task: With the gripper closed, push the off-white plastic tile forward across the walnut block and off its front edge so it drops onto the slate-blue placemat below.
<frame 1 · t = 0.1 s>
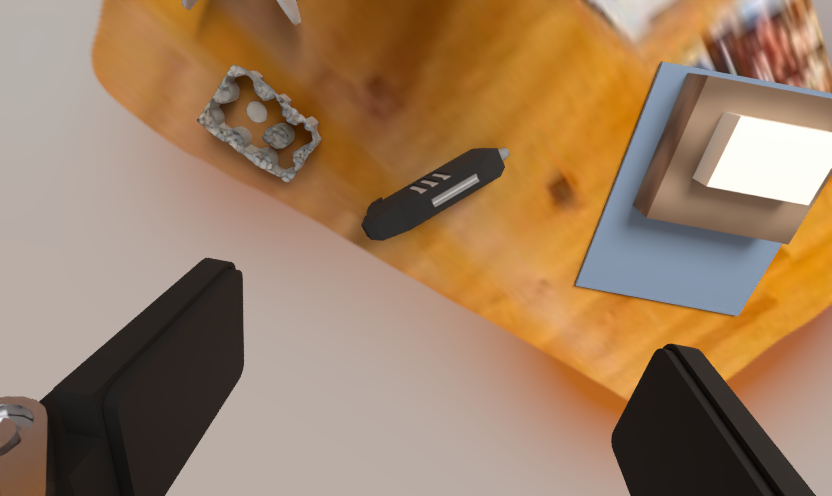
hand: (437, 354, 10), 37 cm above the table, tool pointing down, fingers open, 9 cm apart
placemat: (702, 202, 45), on the table
grey castle ruin model: (273, 120, 45), on the table
gun: (437, 177, 46), on the table
tile: (757, 155, 38), point 4 cm above the table, touching block
block: (728, 156, 42), resting on placemat
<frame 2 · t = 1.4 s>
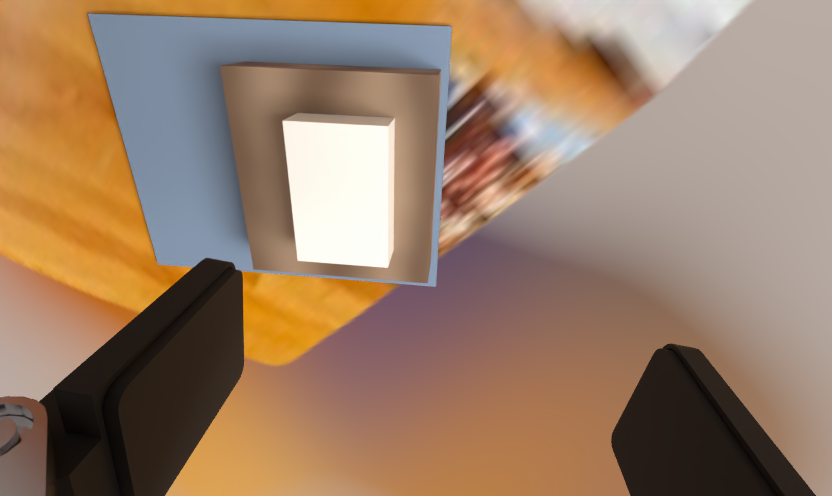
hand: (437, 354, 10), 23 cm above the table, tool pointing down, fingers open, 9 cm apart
placemat: (282, 163, 32), on the table
tile: (348, 185, 28), point 4 cm above the table, touching block
block: (347, 169, 31), resting on placemat
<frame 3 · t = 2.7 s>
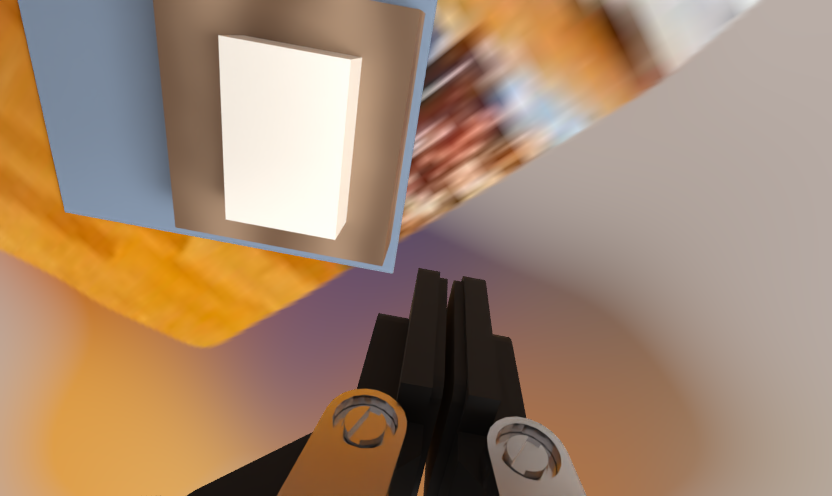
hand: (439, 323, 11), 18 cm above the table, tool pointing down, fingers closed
placemat: (226, 105, 27), on the table
tile: (299, 136, 23), point 4 cm above the table, touching block
block: (302, 121, 27), resting on placemat
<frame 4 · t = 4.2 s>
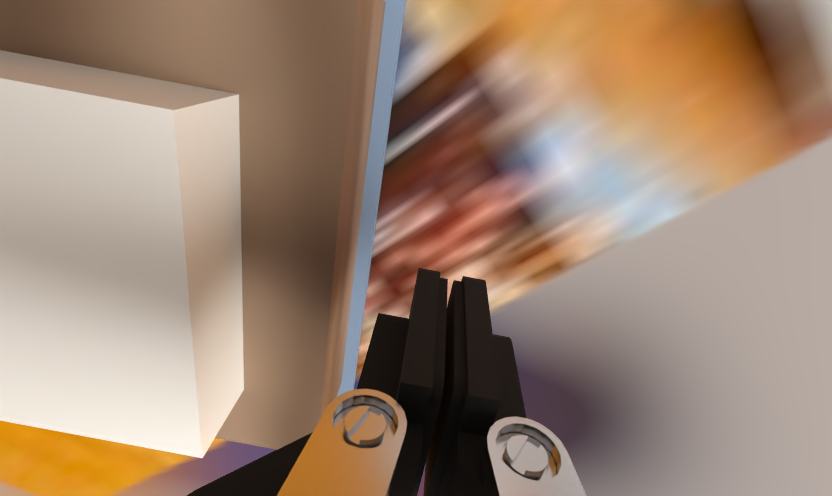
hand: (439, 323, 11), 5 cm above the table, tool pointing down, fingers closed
placemat: (43, 167, 15), on the table
tile: (133, 246, 12), point 4 cm above the table, touching block
block: (174, 197, 15), resting on placemat
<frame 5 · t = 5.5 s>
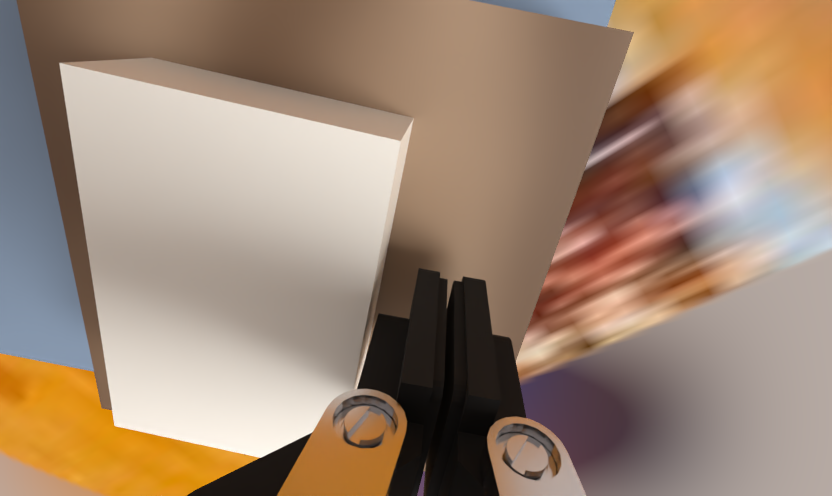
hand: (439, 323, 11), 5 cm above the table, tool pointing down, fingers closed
placemat: (196, 188, 15), on the table
tile: (272, 260, 12), point 4 cm above the table, touching block, gripper
block: (331, 220, 15), resting on placemat
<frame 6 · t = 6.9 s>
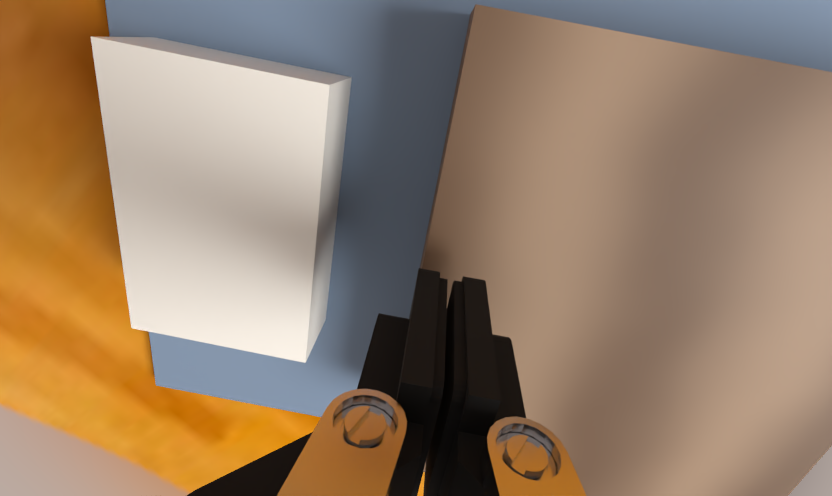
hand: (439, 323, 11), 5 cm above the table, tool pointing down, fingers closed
placemat: (467, 243, 15), on the table
tile: (215, 225, 13), point 3 cm above the table, tilted 180°, touching placemat
block: (608, 274, 15), resting on placemat
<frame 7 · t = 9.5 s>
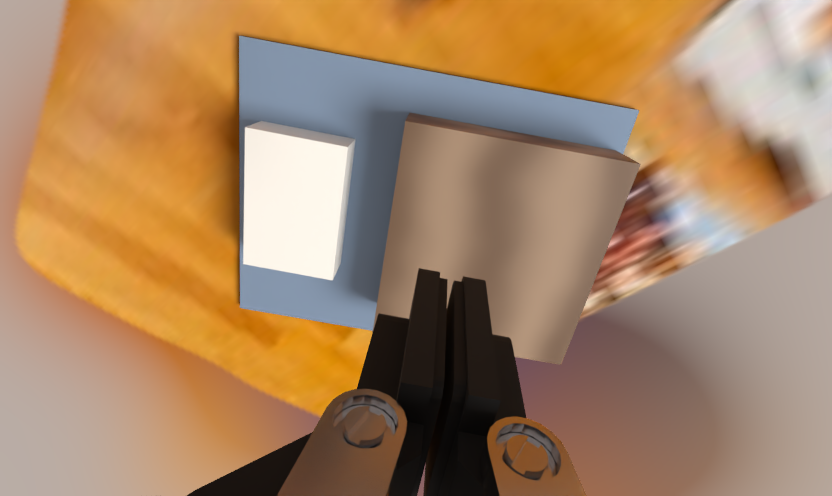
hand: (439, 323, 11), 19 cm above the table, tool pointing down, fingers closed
placemat: (414, 219, 30), on the table
tile: (292, 209, 27), point 3 cm above the table, tilted 180°, touching placemat
block: (486, 234, 29), resting on placemat
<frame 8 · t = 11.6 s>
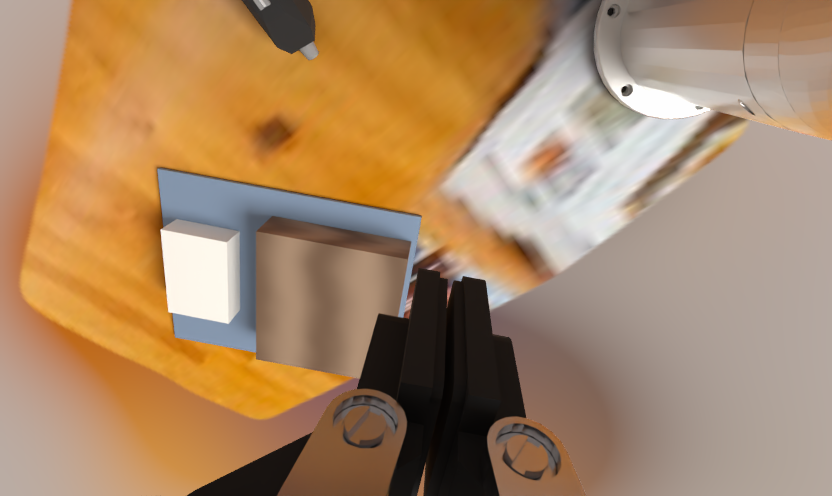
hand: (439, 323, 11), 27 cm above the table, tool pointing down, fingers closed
placemat: (287, 281, 43), on the table
tile: (196, 278, 40), point 3 cm above the table, tilted 180°, touching placemat
block: (335, 292, 43), resting on placemat
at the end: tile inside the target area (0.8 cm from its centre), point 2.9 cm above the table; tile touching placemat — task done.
